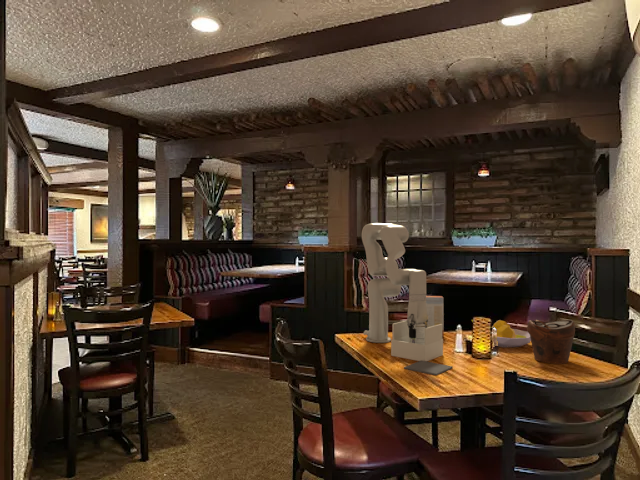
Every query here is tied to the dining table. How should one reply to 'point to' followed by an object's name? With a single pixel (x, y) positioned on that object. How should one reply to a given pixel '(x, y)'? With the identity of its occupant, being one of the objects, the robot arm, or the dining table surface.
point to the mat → (428, 367)
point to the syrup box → (419, 334)
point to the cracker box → (435, 311)
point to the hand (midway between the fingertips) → (418, 336)
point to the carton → (413, 350)
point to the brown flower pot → (551, 340)
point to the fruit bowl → (510, 335)
